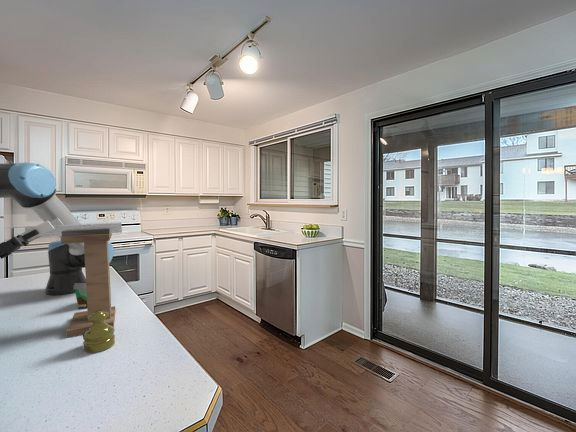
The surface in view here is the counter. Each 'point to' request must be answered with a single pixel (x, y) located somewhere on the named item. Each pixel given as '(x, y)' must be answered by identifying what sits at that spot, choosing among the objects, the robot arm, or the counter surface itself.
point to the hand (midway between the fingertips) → (56, 222)
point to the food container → (81, 295)
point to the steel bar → (81, 228)
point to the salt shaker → (98, 333)
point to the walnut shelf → (92, 277)
